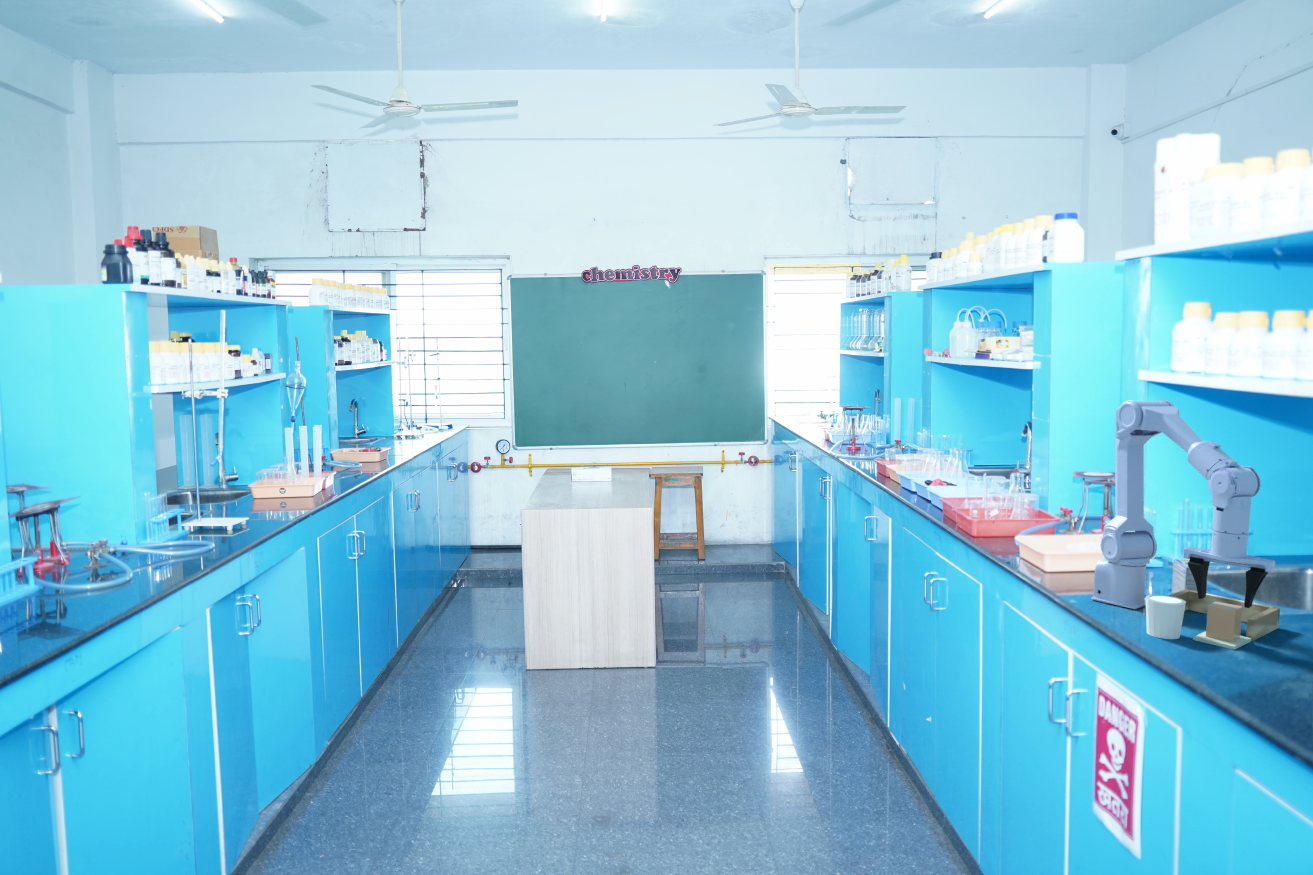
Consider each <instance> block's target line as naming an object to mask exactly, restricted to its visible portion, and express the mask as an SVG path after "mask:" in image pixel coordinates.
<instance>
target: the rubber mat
mask: <svg viewBox="0 0 1313 875" xmlns="http://www.w3.org/2000/svg"><path fill="white" fill-rule="evenodd" d="M1192 640H1193V641H1196V642H1200V643H1204V644H1209V645H1213V646H1217V647H1222V648H1225V649H1230V650H1234V651H1235V650H1237V649H1238V648H1241V647H1242V646H1245V645H1246V644H1247V645H1248V643H1251V642H1252V641H1251V638H1249V637H1246V636H1243V635H1240V638H1238V639H1237V640H1236V641H1234V642H1228V641H1224V640H1219V639H1214V638H1210V637H1206V630H1205V631H1203V632H1200V633H1199V634H1197V635H1194V636H1193V639H1192Z"/></svg>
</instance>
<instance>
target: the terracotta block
mask: <svg viewBox="0 0 1313 875" xmlns="http://www.w3.org/2000/svg"><path fill="white" fill-rule="evenodd" d="M1241 619H1242V606H1238V605H1233V604H1227V603H1222V602H1217V601H1215V602H1213V603H1212V604H1210V605H1208V612H1207V614H1206V628H1205V631H1206V637H1210V638H1214V639H1219V640H1224V641H1228V642H1234V641H1236V640H1237V639H1238V638H1240V636H1241V629H1242V621H1241Z"/></svg>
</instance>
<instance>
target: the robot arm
mask: <svg viewBox="0 0 1313 875" xmlns="http://www.w3.org/2000/svg"><path fill="white" fill-rule="evenodd" d="M1114 415H1115V435H1114V437H1115V438H1114V446H1115V447H1114V448H1115V450H1114V456H1115V457H1114V459H1115V460H1114V462H1115V463H1114V466H1115V469H1114V474H1115V476H1114V478H1115V480H1114V482H1115V483H1114V486H1115V491H1114V492H1115V494H1114V495H1115V496H1114V498H1115V500H1114V501H1115V502H1114V504H1115V505H1114V507H1115V510H1114V511H1115V512H1114V514H1115V515H1114V517H1113V518H1112V519H1111V520H1110V521H1107V523H1105V525H1104V526H1103V534H1102V537H1101V541H1100V550H1101V552H1102V556H1103V558H1100V559H1099V560H1098V561H1097V562H1096V565H1095V568H1094V569H1095V570H1094V576H1093V594H1092V595H1093V596H1092V597H1091V600H1092V601H1096V602H1101V603H1105V604H1110V605H1114V606H1118V607H1124V608H1127V609H1131V610H1137V609H1141V608H1143V607H1146V599H1145V591H1146V576H1147V575H1146V573H1147V564H1150V560H1152V559H1153V558H1155V555H1156V553H1157V550H1158V548H1157V547H1158V544H1157V541H1156V538H1155V535H1154V534H1155V533H1154V526H1153V525H1152V524H1151V523H1150V522H1149V521H1147V519H1145V518H1144V516H1145V513H1144V512H1145V511H1144V510H1145V509H1144V508H1145V505H1144V504H1145V502H1144V495H1145V494H1144V493H1145V492H1144V489H1145V488H1144V486H1145V485H1144V482H1145V481H1144V480H1145V478H1144V476H1145V474H1144V470H1145V468H1144V467H1145V465H1144V462H1145V461H1144V458H1145V457H1144V456H1145V455H1144V451H1145V450H1144V448H1145V447H1144V446H1145V444H1146V443H1148V441H1149V440H1151V439H1152V438H1153V437H1155V436H1158V435H1160V434H1162V433H1163V435H1165V436H1166V437H1167V438H1168V439H1170V440H1171V441H1172V442H1173V443H1174V444H1176V445H1177V446H1179V447H1180V448H1181V449H1182V450H1183V451H1184V452H1186V453H1187V458H1186V459H1187V462H1188V464H1190V465H1191V466H1192V467H1193V468H1194V469H1195V470H1196V471H1197V472H1198V473H1199V475H1201V476H1202V477H1203V478H1205V479H1206V480H1207V487H1208V490H1209V492H1210V494H1211V503H1212V506H1213V508H1214V509H1213V517H1212V518H1213V520H1212V528H1211V529H1212V531H1211V532H1212V533H1211V543H1210V544H1211V545H1210V548H1198V547H1190V546H1187V547H1185V548H1183V556H1182V557H1183V558H1182V559H1189V562H1188V567H1189V569H1190V571H1191V573H1192V575H1193V577H1194V580H1195V583H1196V587H1197V592H1198V598H1199V599H1203V598H1205V597H1206V587H1207V588H1208V580H1207V574H1208V575H1209V567H1210V563H1217V564H1221V565H1229V566H1232V567H1233V566H1235V567H1241V568H1244V569H1245V568H1246V569H1247V570H1246V571H1245V597H1244V600H1243V601H1244V607H1245V608H1250V607H1251V606H1252V603H1254V599H1255V597H1256V594H1257V592H1258V590H1259V588H1260V586H1261V584H1262V583H1263V582H1264V580H1265V578H1266V577H1267V576H1268V574H1269V573H1274V572H1275V566H1276V560H1273V559H1267V558H1262V557H1259V556H1253V555H1249V554H1248V545H1249V544H1248V543H1249V532H1250V531H1249V530H1250V520H1251V519H1250V517H1251V508H1252V498H1253V497H1255V496H1257V494H1258V493H1259V492H1260V490H1261V486H1262V485H1261V483H1262V482H1261V481H1262V480H1261V477H1260V475H1259V473H1258V472H1257V471H1256V470H1255V468H1254V467H1252V466H1246V465H1241V464H1240V463H1239V464H1238V461H1237V460H1236V459H1235V458H1232V457H1230V455H1228V453H1226V452H1225V451H1224V450H1223V449H1222V448H1221V447H1222V446H1221V445H1220V443H1218V442H1217V441H1215V442H1213V441H1211V440H1202V438H1200V436H1199V435H1198V434H1197V433H1196V432H1195V431H1194V430H1193V429H1192V428H1191V427H1190V425H1188V423H1187V422H1186V421H1185V420H1184V419H1183V418H1182V417H1181V415H1180V409H1179V408H1178V407H1176V406H1175V405H1174V404H1173V403H1172V402H1171V401H1169V400H1166V399H1160V400H1130V399H1129V400H1125V401H1123V403H1121V405H1119V407H1118V408H1117V409H1115V414H1114Z"/></svg>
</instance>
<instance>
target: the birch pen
mask: <svg viewBox="0 0 1313 875" xmlns="http://www.w3.org/2000/svg"><path fill="white" fill-rule="evenodd" d="M1168 596H1171V597H1176V598H1179V599H1182V600H1184V601H1186V604H1185V610H1184V612H1186V611H1192V612H1196V613H1201V614H1204V615H1205V614H1206V615H1207V612H1208V605H1210V604H1212V603H1213V602H1215V601H1217V602H1222V603H1227V604H1233V605H1238V606H1242V619H1241V623H1247V624H1246V636H1245V637H1249V638H1251V641H1250V642H1254V641H1256V640H1258V639H1259V638H1262V637H1264V636H1266V635H1267V634H1270V633H1271V632H1274V631H1275V630H1277V629H1279V627H1280V625H1279V624H1280V613H1281V607H1276V606H1272V605H1267V604H1261V603H1256V602H1253V603H1252V606H1251V607H1250V608H1245V607H1244V601H1245V600H1240V599H1236V598H1232V597H1227V596H1222V595H1216V594H1211V593H1208V592H1207V593H1206V597H1205V598H1203V599H1199V598H1198V592H1197V591H1193V590H1188V589H1184V590H1182V591H1179V592H1176V593H1174V594H1172V593H1171V594H1169V595H1168Z"/></svg>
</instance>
